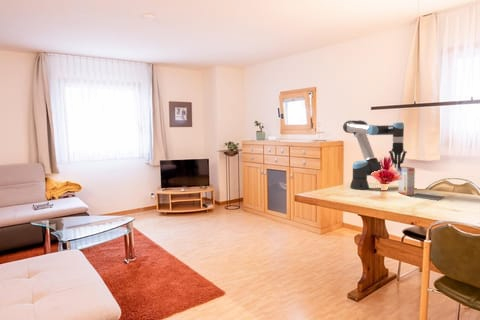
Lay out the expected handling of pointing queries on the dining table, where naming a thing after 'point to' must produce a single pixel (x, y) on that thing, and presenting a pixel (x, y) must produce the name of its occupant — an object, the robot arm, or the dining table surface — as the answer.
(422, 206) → the dining table surface
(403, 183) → the cracker box
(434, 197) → the felt mat
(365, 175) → the robot arm
